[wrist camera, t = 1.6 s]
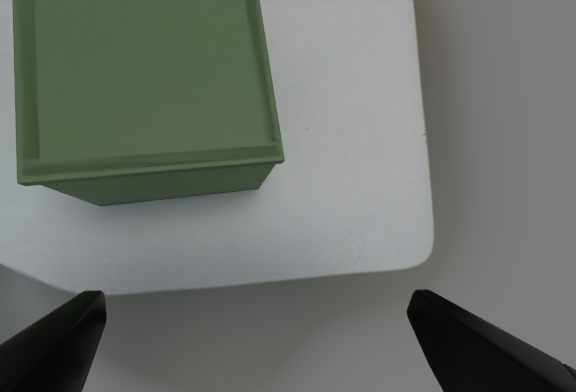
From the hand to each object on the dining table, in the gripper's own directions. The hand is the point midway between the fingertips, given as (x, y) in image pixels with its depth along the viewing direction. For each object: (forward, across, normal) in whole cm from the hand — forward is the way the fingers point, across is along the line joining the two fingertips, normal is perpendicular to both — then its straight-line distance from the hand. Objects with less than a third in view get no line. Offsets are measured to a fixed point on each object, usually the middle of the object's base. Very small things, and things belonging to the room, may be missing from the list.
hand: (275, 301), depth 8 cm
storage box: (+20, +6, -3) cm, 21 cm away
